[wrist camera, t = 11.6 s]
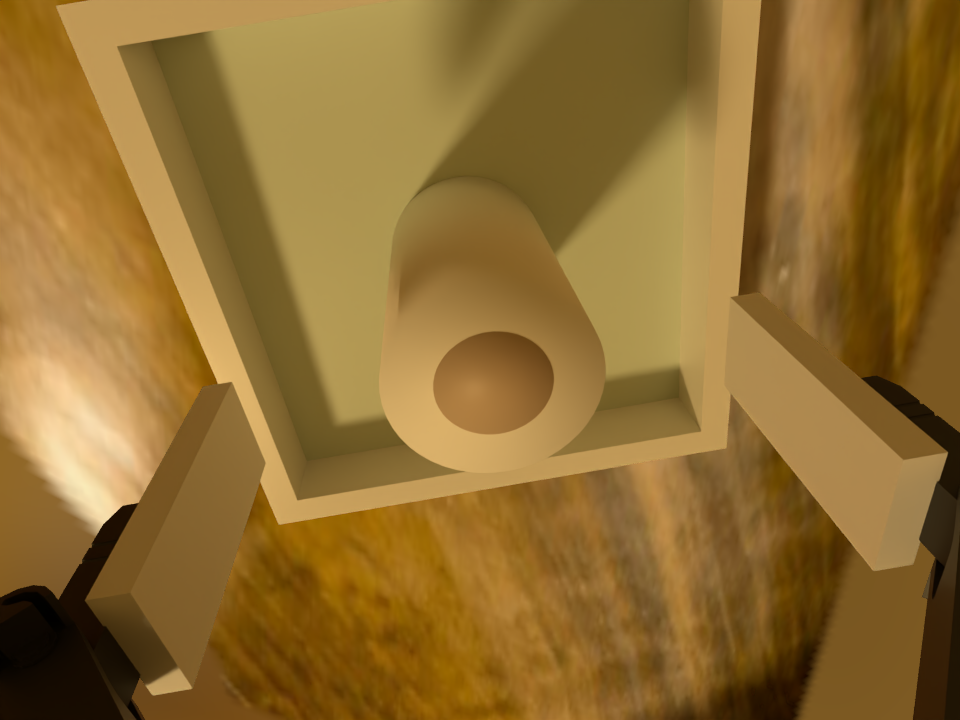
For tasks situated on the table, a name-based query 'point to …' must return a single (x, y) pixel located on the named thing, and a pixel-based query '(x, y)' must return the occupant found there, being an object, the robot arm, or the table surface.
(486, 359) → the kitchen roll
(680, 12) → the rectangular tray
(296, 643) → the table surface
